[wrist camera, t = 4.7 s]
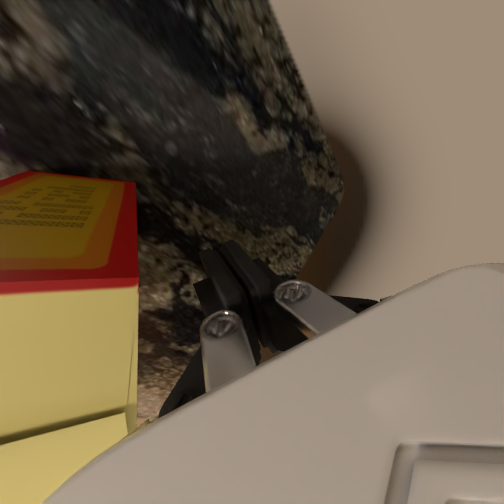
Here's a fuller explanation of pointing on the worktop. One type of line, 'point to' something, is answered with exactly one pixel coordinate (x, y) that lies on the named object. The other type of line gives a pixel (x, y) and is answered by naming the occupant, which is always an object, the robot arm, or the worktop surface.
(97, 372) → the baking soda box
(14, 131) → the worktop surface
